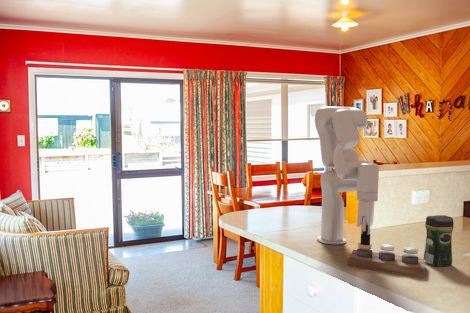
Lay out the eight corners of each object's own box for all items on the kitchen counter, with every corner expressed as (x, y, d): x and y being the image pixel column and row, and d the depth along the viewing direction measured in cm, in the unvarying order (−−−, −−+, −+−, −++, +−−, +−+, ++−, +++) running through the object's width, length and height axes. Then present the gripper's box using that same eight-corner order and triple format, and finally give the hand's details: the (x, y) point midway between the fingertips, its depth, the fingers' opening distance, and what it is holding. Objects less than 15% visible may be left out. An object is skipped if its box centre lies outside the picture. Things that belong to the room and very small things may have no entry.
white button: (381, 246, 166) (381, 243, 166) (394, 248, 164) (394, 245, 164) (379, 249, 162) (379, 246, 162) (393, 251, 160) (393, 248, 160)
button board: (353, 256, 174) (353, 244, 174) (425, 267, 163) (425, 254, 163) (347, 265, 164) (348, 252, 163) (423, 277, 153) (424, 263, 152)
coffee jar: (441, 259, 173) (443, 213, 171) (455, 266, 165) (458, 217, 164) (419, 261, 171) (422, 213, 169) (432, 267, 163) (435, 218, 162)
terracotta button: (359, 245, 170) (359, 241, 169) (372, 246, 168) (372, 243, 167) (357, 248, 165) (357, 245, 165) (370, 250, 163) (370, 246, 163)
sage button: (403, 249, 163) (404, 246, 163) (417, 251, 161) (418, 248, 161) (402, 253, 158) (402, 249, 158) (417, 255, 156) (417, 251, 156)
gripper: (360, 192, 173) (358, 238, 174) (353, 198, 159) (351, 248, 161) (380, 194, 170) (378, 241, 171) (374, 200, 156) (372, 251, 158)
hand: (365, 244), depth 166 cm, fingers closed
